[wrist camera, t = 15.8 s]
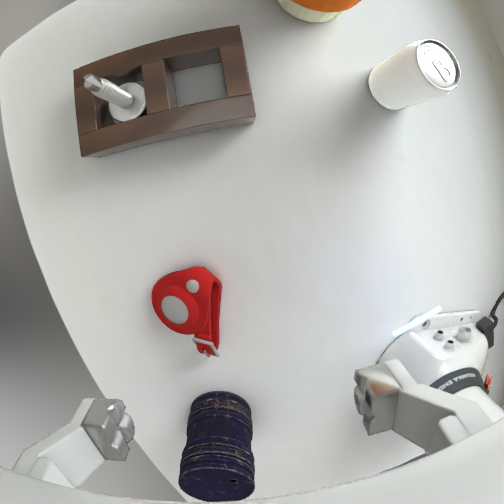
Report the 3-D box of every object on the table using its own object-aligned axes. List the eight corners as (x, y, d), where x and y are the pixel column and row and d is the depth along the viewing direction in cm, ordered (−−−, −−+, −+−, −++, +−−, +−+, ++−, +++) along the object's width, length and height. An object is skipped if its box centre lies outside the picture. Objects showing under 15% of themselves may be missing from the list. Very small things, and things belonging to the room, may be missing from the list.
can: (385, 56, 32) (431, 25, 20) (418, 91, 33) (472, 73, 22) (357, 83, 33) (401, 54, 22) (392, 120, 34) (445, 107, 23)
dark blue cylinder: (218, 439, 47) (214, 508, 32) (177, 407, 45) (161, 480, 30) (264, 415, 45) (271, 489, 31) (223, 380, 43) (219, 458, 29)
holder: (90, 79, 32) (73, 70, 27) (239, 41, 31) (239, 24, 27) (99, 157, 34) (81, 157, 30) (253, 123, 34) (255, 116, 29)
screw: (135, 130, 34) (108, 111, 33) (159, 98, 33) (130, 80, 32) (88, 115, 21) (53, 92, 20) (121, 67, 20) (84, 46, 20)
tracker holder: (136, 309, 39) (168, 256, 34) (154, 295, 43) (187, 245, 38) (206, 371, 38) (251, 327, 34) (219, 352, 42) (262, 309, 38)
